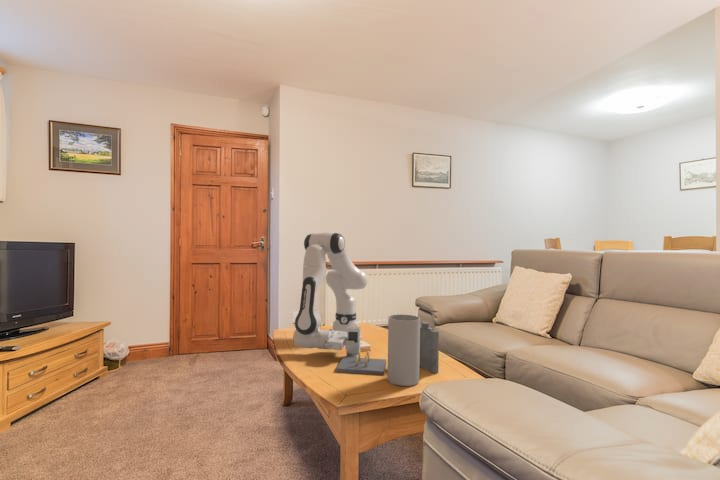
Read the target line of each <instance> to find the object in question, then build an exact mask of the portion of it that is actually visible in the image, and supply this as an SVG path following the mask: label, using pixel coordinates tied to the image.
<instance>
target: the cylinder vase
mask: <svg viewBox="0 0 720 480" xmlns="http://www.w3.org/2000/svg"><path fill="white" fill-rule="evenodd" d="M387 324H388V326H387V331H388V332H387V380H388V382H389V383H390V384H392V385H395V386H400V387H411V386H415V385H417V384H418V383H419V382H420V368H419V363H420V326H421V318H420V316H418V315H417V316H416V315H413V314H412V315H411V314H391V315H388V323H387Z"/></svg>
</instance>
